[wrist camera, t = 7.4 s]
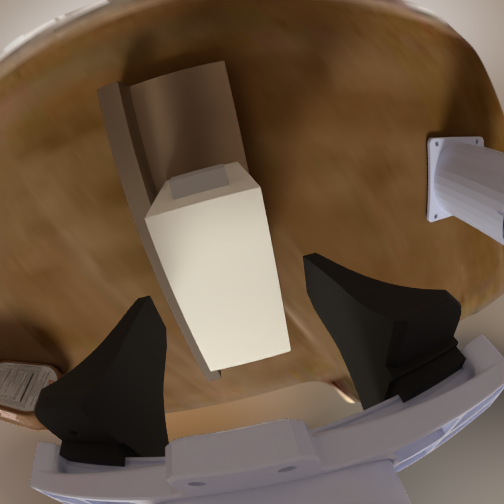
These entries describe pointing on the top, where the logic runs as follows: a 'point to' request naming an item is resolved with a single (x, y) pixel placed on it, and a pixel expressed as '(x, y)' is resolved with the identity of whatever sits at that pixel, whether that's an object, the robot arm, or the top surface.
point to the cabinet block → (221, 263)
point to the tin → (23, 391)
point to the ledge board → (170, 147)
